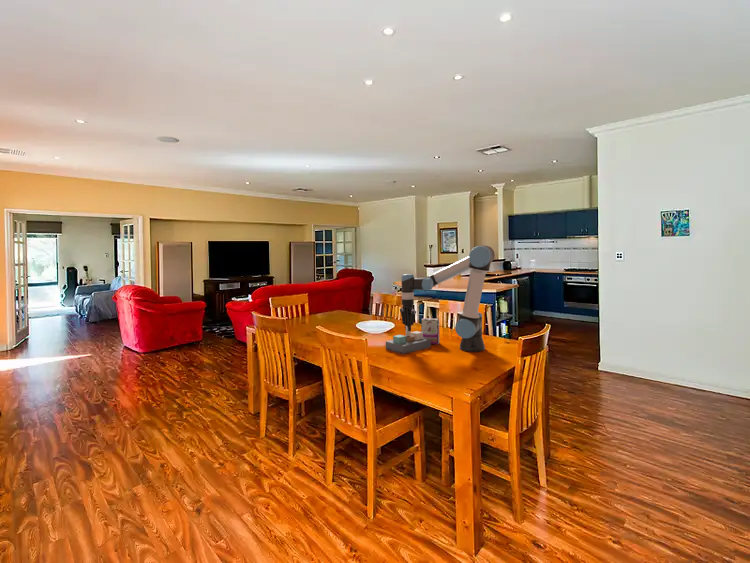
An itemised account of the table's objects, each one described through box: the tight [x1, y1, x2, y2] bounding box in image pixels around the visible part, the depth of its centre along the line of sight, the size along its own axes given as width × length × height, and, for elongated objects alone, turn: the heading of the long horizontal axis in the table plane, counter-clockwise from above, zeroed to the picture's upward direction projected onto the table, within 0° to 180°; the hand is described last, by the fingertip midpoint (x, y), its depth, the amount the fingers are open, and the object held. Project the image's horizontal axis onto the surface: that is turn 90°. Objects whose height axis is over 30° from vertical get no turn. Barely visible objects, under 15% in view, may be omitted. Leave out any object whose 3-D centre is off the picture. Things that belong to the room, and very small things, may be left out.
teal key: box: [392, 334, 406, 344], centre depth 250 cm, size 6×6×4 cm
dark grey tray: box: [385, 338, 432, 355], centre depth 255 cm, size 16×24×5 cm, turn 129°
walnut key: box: [404, 334, 415, 342], centre depth 255 cm, size 6×6×4 cm
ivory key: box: [410, 330, 423, 340], centre depth 259 cm, size 6×6×4 cm
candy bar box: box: [420, 317, 440, 345], centre depth 266 cm, size 11×5×16 cm, turn 70°
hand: (408, 335), depth 255 cm, fingers closed
